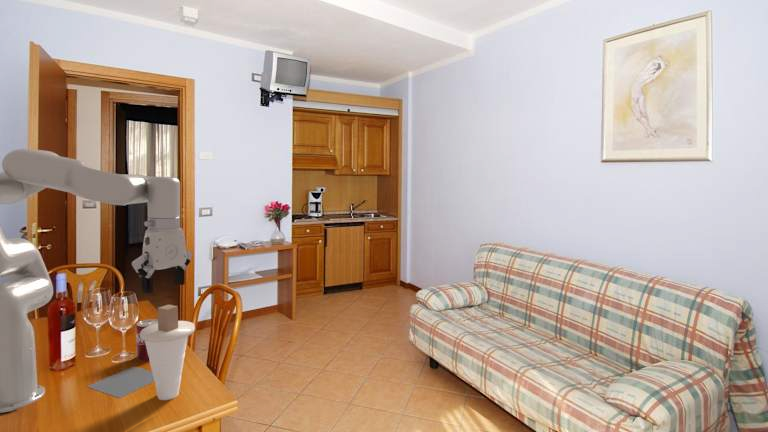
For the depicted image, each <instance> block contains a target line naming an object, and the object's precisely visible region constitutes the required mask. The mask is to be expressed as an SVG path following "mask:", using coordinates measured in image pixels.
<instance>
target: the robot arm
mask: <svg viewBox="0 0 768 432" xmlns="http://www.w3.org/2000/svg"><path fill="white" fill-rule="evenodd" d="M1 167H2V168H1V169H2V170H3V171H0V205H9V204H10V205H11V204H16V203H19V202H22V201H24V200H26V199H29V198H30V197H32V196H34V195H36V194H38V193H40V192H41V191H43V190H45V189H46V188H47V189H53V190H56V191H62V192H65V193H70V194H71V195H74V196H76V197H79V198H83V199H86V200H90V201H94V202H98V203H103V204H109V205H115V206H127V205H134V204H142V203H143V204H144V203H147V220H146V221H144V222H143V224H144V227H147V229H146V230H145V233H144V237H143V242H142V244H143V245H142V254H141V255H140V256H139V257H137V258H135V259H134V260H133V261H131V266H132V268H133V270H134V272H135V273H136V274H137V275H138V276H139V278H141V291H142V293H146V294H152V293H153V291H154V279H153V277H152V275H153V273H155V271H158V270H166V269H171V268H174V267H175V269H174V284H175V285H179V286H184V285H185V284H186V281H185V280H186V279H185V277H186V275H185V274H186V273H185V272H186V271H187V269H188V266H189V264H190V263H191V258H192V257H193V252H192V251H189V250H188V249H187V248H186V245H187V244H186V238H185V233H184V229H183V228H181V182H180V180H179V179H178V178H176V177H173V176H150V175H149V176H148V175H144V174H143V175H142V174H132V173H130V174H129V173H128V174H124V173H123V174H121V173H115V172H114V173H113V172H108V171H104V170H99V169H96V168H92V167H88V166H86V164H85V163H84V162H83V161H82V160H80V159H74V158H71V157H66V156H60V155H59V154H57V153H55V152H54V151H49V150H43V149H34V148H33V149H31V148H20V149H14V150H12V151H10V152H8V153H7V154H6V155H4V157H3V159H2V161H1ZM2 229H3V228H2V226H1V225H0V279H2V278H6V277H8V278H9V280H8V281H5V282H2V283H0V414H4V413H8V412H13V411H17V409H19V408H24V407H25V406H28V405H30V404H33V403H35V402H37V401H39V400H40V399H41V398H42V397H43V396H44V395H45V393H46V388H45V387H44V386H42V385H38V375H37V374H38V373H37V359H36V358H37V357H36V354H37V353H36V341H35V339H36V338H35V330H34V327H33V324H32V322H31V321H30V320H29V318H28V315H27V314H28V313H30V312H33V311H35V310H37V309H39V308H41V307H43V306H45V305H46V304H48V303H49V302H50V301H51V299H52V297H53V296H54V285H53V282H52V279H51V277H50V274H49V271H48V269H47V267H46V264H45V262H44V260H43V256H42V254H41V253H40V251H39V249H38V248H37V246H35V244H34V243H32V242H31V241H30V240H28V239H25V238H22V237H11V238H7V237H6V235H5V234H4V232H3V230H2ZM142 266H143V267H142Z"/></svg>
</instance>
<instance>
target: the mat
mask: <svg viewBox="0 0 768 432" xmlns="http://www.w3.org/2000/svg"><path fill="white" fill-rule="evenodd" d="M152 383H155V382H154V377H153V373H152V370H147V369H145V368H142V367H141V368H140V367H139V366H131V367H129V368H126V369H124V370H121V371H120V372H117V373H115V374H112V375H110V376H108V377H106V378H102V379H101V380H98V381H95V382H93V383H91V384H89V385H86V388H89V389H92V390H95V391H97V392H100V393H104V394H106V395H108V396H112V397H115V398H118V399H122V398H123V397H125V396H127V395H129V394H132V393H134V392H136V391H139V390H140V389H142V388H143V387H146V386H148V385H150V384H152Z"/></svg>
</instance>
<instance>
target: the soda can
mask: <svg viewBox="0 0 768 432" xmlns="http://www.w3.org/2000/svg"><path fill="white" fill-rule="evenodd" d="M157 323H158V318H156V319H155V318H150V319H144V320H141V321H138V322H137V323H136V325H135V342H136V343H135V344H136V350H135V351H136V360H137V361H139V362H150V361H149V356H148V352H147V348H146V344H145V340H142V339H141V337H140V332H141V330H143V329H144V328H146V327H148V326H150V325H153V324H157Z"/></svg>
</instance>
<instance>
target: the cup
mask: <svg viewBox="0 0 768 432" xmlns="http://www.w3.org/2000/svg"><path fill="white" fill-rule="evenodd" d="M188 337H189V336H187V337H184V338H181V339H177V340H173V341H166V342H149V341H145V344H146V348H147V352H148V356H149V361H148V362H149V365H150V369H151V372H152V373H153V377H154V382H153V383H154V386H155V391H156V395H157V399H158V400H160V401H168V400H173V399H175V398H177V396H179V395H180V394H179V392H180V387H181V381H182V373H183V367H184V363H185V355H186V350H187V344H188Z"/></svg>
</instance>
